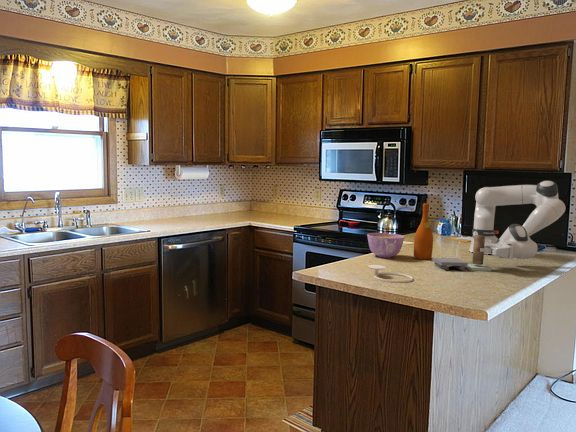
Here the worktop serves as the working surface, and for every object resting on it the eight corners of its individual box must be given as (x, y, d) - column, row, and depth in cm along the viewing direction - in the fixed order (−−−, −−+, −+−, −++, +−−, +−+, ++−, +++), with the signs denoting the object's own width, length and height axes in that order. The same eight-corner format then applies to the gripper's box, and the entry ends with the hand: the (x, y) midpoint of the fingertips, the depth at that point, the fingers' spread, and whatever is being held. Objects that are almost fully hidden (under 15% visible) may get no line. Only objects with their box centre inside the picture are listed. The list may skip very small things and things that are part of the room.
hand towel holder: (406, 275, 204) (360, 268, 214) (406, 285, 204) (360, 278, 214) (418, 268, 218) (374, 262, 228) (418, 278, 219) (374, 271, 229)
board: (482, 266, 249) (482, 264, 249) (491, 271, 239) (491, 268, 239) (462, 266, 249) (463, 263, 249) (471, 270, 239) (471, 267, 239)
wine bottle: (411, 258, 265) (414, 203, 262) (415, 256, 274) (419, 202, 271) (429, 260, 260) (433, 204, 257) (433, 258, 269) (437, 203, 266)
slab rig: (456, 265, 250) (457, 257, 250) (467, 271, 237) (468, 263, 237) (431, 265, 249) (432, 257, 249) (441, 270, 236) (441, 262, 236)
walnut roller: (477, 262, 247) (479, 234, 246) (485, 264, 242) (487, 236, 241) (470, 263, 245) (472, 235, 244) (477, 265, 240) (479, 236, 239)
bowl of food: (393, 261, 255) (394, 239, 253) (359, 256, 267) (360, 234, 265) (409, 256, 271) (410, 235, 269) (376, 251, 283) (377, 231, 281)
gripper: (494, 239, 254) (468, 239, 253) (515, 246, 233) (486, 245, 233) (493, 252, 254) (467, 251, 254) (514, 259, 234) (485, 258, 233)
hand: (477, 248), depth 243 cm, fingers closed on walnut roller, 5 cm apart
